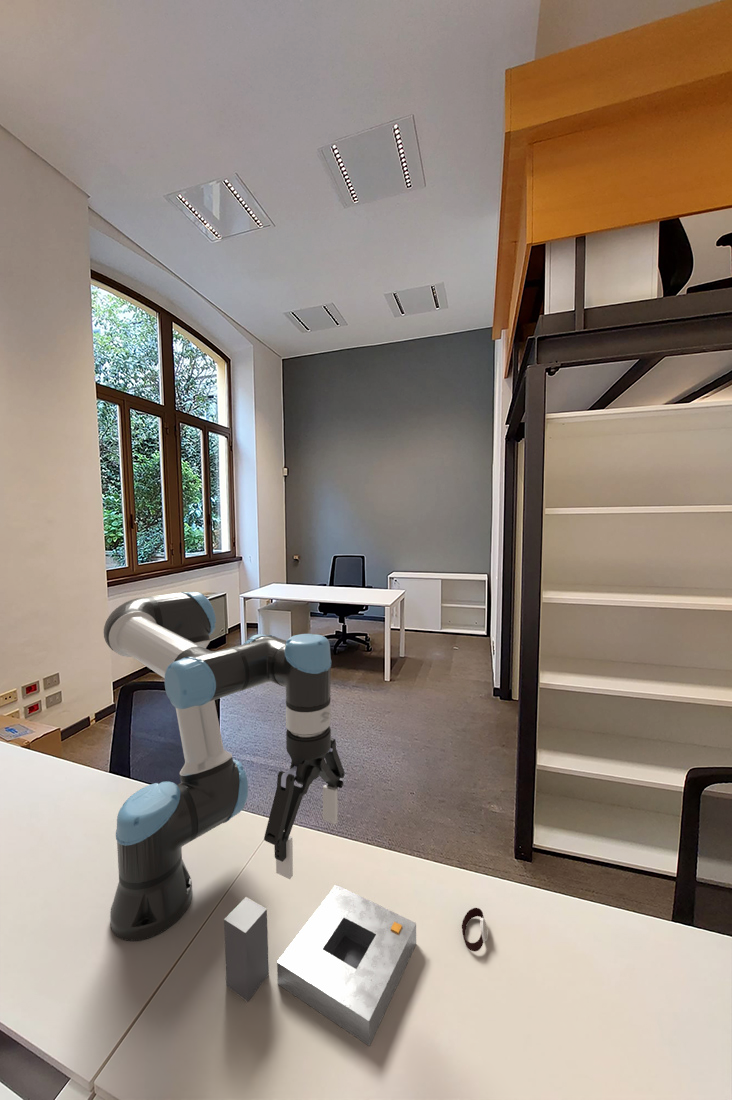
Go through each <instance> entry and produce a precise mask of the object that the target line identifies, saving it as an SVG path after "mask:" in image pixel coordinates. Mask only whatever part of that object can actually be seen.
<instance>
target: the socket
mask: <svg viewBox="0 0 732 1100" xmlns="http://www.w3.org/2000/svg"><path fill="white" fill-rule="evenodd" d="M416 946H417V923H416V922H414V921H413V920H410V919H409V918H406V917H405V916H403V915H400V914H398V913H396V912H394V911H393V910H390V909H388V908H386V907H383V906H381V905H379V904H377V903H375V902H373V901H371V900H369V899H367V898H365V897H364V896H360V895H359V894H356V893H354V892H353V891H351V890H349V889H346V888H344V887H342V886H340V885H338V884H334V886H333V887H332V888H331V890H330V891H329V893H328V894H327V895H326V896H325V898H324V899H323V901H321V903H320V905H319V906H318V908H316V910H315V911H314V913H313V914H312V915H311V917H309V919H308V921H307V922H306V923H305V924H304V926H303V927H302V928H301V929H300V931H299V933H298V934H296V936H295V938H294V939H293V940H292V941H291V943H290V944H289V945H288V946H287V948H286V949H285V951H284V953H282V955H281V956H280V957H279V959H278V960H277V962H276V969H277V970H276V971H277V972H276V973H277V974H276V975H277V985H278V986H280V987H281V988H282V989H284V990H286V991H288V992H289V993H290V994H292V995H293V996H295V997H296V998H298V1000H300V1001H302V1002H304V1003H305V1004H307V1005H308V1006H309V1007H310V1008H313V1009H314V1010H315V1011H316V1012H318V1013H319V1014H321V1015H322V1016H324V1017H326V1018H327V1019H329V1021H332V1022H333V1023H335V1024H336V1025H337V1026H339V1027H340V1028H342V1029H344V1030H345V1031H346V1032H348V1033H349V1034H351V1035H352V1036H354V1037H355V1038H357V1039H358V1040H359V1041H361V1042H363V1043H364V1044H365V1045H367V1046H369V1047H370V1046H371V1044H372V1041H373V1039H374V1037H375V1035H376V1033H377V1031H378V1029H379V1026H380V1024H381V1022H382V1020H383V1018H384V1015H385V1013H386V1011H387V1008H388V1007H389V1004H390V1002H391V1000H392V998H393V995H394V993H395V992H396V989H397V987H398V985H399V982H400V980H401V978H402V976H403V973H404V972H405V969H406V968H407V965H408V962H409V961H410V959H411V956H412V955H413V952H414V949H415V948H416Z"/></svg>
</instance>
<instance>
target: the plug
mask: <svg viewBox="0 0 732 1100" xmlns="http://www.w3.org/2000/svg"><path fill="white" fill-rule="evenodd" d="M223 929H224V954H225V955H224V957H225V980H226V981H225V982H226V983H225V986H226V988H228V989H229V990H231V991H232V992H233V993H235V994H237V996H239V997H240V998H242V999H243V1000H244V1001H246V1002H247V1003H248V1002H249V1001H250V1000H251V998H252V997H253V996H254V994H255V993H256V992H257V990H258V989H259V988H260V986H261V985H262V983H264V982H265V980H266V978H267V977H268V976H269V975H270V971H269V969H270V968H269V966H270V965H269V941H268V939H269V937H268V931H269V930H268V909H267V908H266V907H264V906H263V905H261V904H259V903H258V902H256V901H254V900H252V899H250V898H249V897H247V896H245V897H244V898H243V899H242V900H241V901H240V902H239V903H238V905H237V906H236V907H235V908H233V909H232V910H231V912H229V913H228V914H227V915H226V916H225V918H224V919H223Z"/></svg>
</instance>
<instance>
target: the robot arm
mask: <svg viewBox="0 0 732 1100" xmlns="http://www.w3.org/2000/svg"><path fill="white" fill-rule="evenodd" d="M216 623H217V619H216V612H215V609H214V607H213V604H212V603H211V601H210V600H209V599H208V598H207V597H206V596H205V595H204V594H203V593H202V592H199V591H187V592H185V591H181V592H174V593H168V594H161V595H160V594H159V595H153V596H146V597H144V596H143V597H138V598H134V599H133V598H132V599H130V600H128V601H126V602H124V603H122V604H120V605H119V606H118V607H116V608H115V609H114V610H113V611H112V612H110V614H109V616H108V617H107V619H106V621H105V623H104V626H103V638H104V640H105V643H106V645H107V646H108V648H109V649H110V650H111V651H113V652H115V653H116V654H117V655H120V656H122V657H125V658H127V657H128V658H129V657H130V658H133V659H134V660H137V661H138V662H139V663H141V664H142V665H143V666H145V667H147V668H148V669H149V670H152V671H153V672H154V673H155V674H157V675H158V676H160V677H162V678H164V688H165V692H166V696H167V698H168V699H169V701H170V703H171V705H172V706H173V707H174V708H175V711H176V718H177V723H178V730H179V735H180V740H181V747H182V752H183V757H184V764H183V766H182V768H181V770H180V771H179V778H180V783H178V784H177V783H175V782H172V781H161V782H160V783H159V782H155V783H151V784H149V785H146V786H144V787H142V788H141V789H139V790H137V791H135V792H134V793H133V794H131V796H129V797H128V798H127V799H126V800H125V801H124V802H123V804H122V806H121V807H120V809H119V811H118V813H117V816H116V817H117V818H116V830H115V840H116V842H117V843H116V844H117V865H118V883H117V886H116V890H115V894H114V899H113V901H112V904H111V907H110V915H109V917H110V919H109V920H110V928H111V930H112V932H113V934H114V935H115V936H116V937H117V938H119V939H121V940H124V941H142V940H146V939H148V938H149V939H150V938H152V937H154V936H157V935H159V934H161V933H163V932H164V931H166V930H168V929H169V928H170V927H172V926H173V925H174V924H176V923H177V921H179V920H180V919H181V918H182V916H184V914H185V913H186V911H187V910H188V908H189V906H190V904H191V902H192V899H193V882H192V877H191V876H190V873H189V871H188V868H187V867H186V864H185V862H184V860H183V853H182V852H183V850H182V847H183V846H186V845H187V844H189V843H190V842H192V841H195V840H197V839H198V838H199V837H201V836H202V835H205V834H206V833H208V832H210V831H212V830H214V829H215V828H217V827H219V826H220V825H222V824H226V823H227V822H229V821H230V820H231V819H232V818H233V817H235V816H237V815H238V814H240V812H242V811H243V809H244V808H245V805H246V803H247V802H248V801H247V800H248V797H249V782H248V781H249V780H248V775H247V773H246V769H244V766H243V764H242V763H241V761H239V760H238V759H235V758H233V754H232V753H231V752H229V751H227V750H226V749H225V748H224V743H223V738H222V733H221V727H220V722H219V718H218V712H217V706H216V702H215V700H218V699H222V698H224V697H227V696H230V695H233V694H235V693H238V692H239V693H240V692H242V691H246V690H249V689H251V688H254V687H256V686H259V685H260V686H261V685H263V684H267V683H270V682H271V683H273V684H276V685H279V686H281V687H285V726H286V731H285V734H286V735H285V739H286V740H285V741H286V744H285V746H286V747H285V748H286V752H287V754H288V756H289V757H290V759H291V761H290V766H289V769H288V770H287V771H282V770H280V771H279V772H278V774H277V779H276V780H277V781H276V790H275V793H274V798H273V802H272V806H271V809H270V813H269V816H268V821H267V825H266V829H265V833H264V837H263V840H264V842H267V843H269V844H271V845H273V846H274V848H273V849H274V858H275V866H276V867H275V870H276V872H275V874H278V875H279V876H282V877H284V878H286V879H288V880H291V879H292V878H293V874H294V868H293V866H294V865H293V863H294V862H293V855H294V854H293V850H294V849H293V847H294V846H293V836H291V832H292V829H293V826H294V823H295V820H296V817H297V815H298V811H299V808H300V806H301V802H302V799H303V797H304V795H306V794H307V793H308V791H309V787H310V785H311V784H312V783H313V781H315V780H316V779H318V778H319V777H320V779H322V781H324V783H326V784H324V785H323V786H322V820H323V821H325V822H327V823H330V824H333V825H335V826H336V824H337V823H338V798H339V797H338V791H339V789H338V788H340V789H342V788H343V786H344V781H343V780H341V779H343V778H344V777H345V775H346V773H345V771H344V768H343V765H342V761H341V758H340V755H339V754H338V751H337V742H336V738H331V737H332V733H331V732H332V730H331V726H330V725H331V717H332V715H331V689H332V688H331V684H332V683H331V674H332V673H331V669H332V659H331V656H332V655H331V644H330V641H329V639H328V638H327V637H325V636H324V635H321V634H319V633H318V634H313V633H299V634H296V635H295V634H294V635H292V636H290V637H288V638H287V640H285V639H282V638H279V637H277V636H275V635H271V634H262V633H258V634H255V635H252V636H250V637H249V638H248V639H247V640H246V641H244V642H243V644H241V645H236V646H232V647H231V646H230V647H228V648H223V649H219V650H215V651H213V650H210V649H207V647H208V645H209V644H210V642H211V641H210V636H211V635H212V634H213V633H214V631H215V630H216ZM296 783H297V784H299V785H301V787H300V786H297V785H296Z"/></svg>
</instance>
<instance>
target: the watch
mask: <svg viewBox="0 0 732 1100" xmlns="http://www.w3.org/2000/svg"><path fill="white" fill-rule="evenodd" d="M476 917H480V919H479V922H480V923H479V929H480V936H479V939H477V941H475V942H470V941H468V940H467V939H466V931H467V927H468V923H469V922H470V921H471V920H473V919H474V918H476ZM461 922H462V923H461V930H462V931H461V932H462V936H463V942H464V944H465V947H466V948H467V949H468V950H469V951H471V952H477V951H480V950H481V949H482V947H483V945H484V942H487V941H488V927H487V922H486V920H485V916H484V913H483V911H482V910H481V908H479V907H473V908H471V909H469V910H468V911H467V912H466V914H465V916H464V917H463V919H462V921H461Z"/></svg>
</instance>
